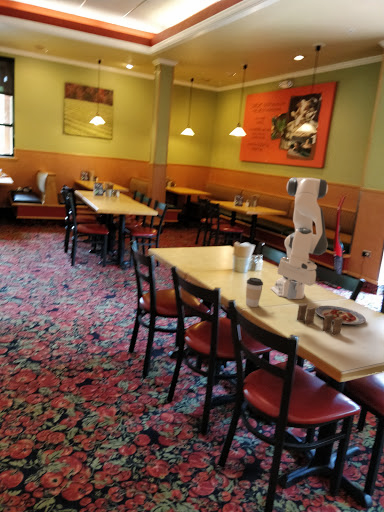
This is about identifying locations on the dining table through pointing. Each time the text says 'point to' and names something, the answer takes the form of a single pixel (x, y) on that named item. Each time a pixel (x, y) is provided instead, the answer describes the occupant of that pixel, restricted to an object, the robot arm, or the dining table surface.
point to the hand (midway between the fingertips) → (293, 288)
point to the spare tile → (292, 291)
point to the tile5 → (337, 326)
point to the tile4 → (327, 322)
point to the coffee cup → (253, 291)
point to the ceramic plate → (341, 314)
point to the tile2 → (310, 315)
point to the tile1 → (302, 312)
